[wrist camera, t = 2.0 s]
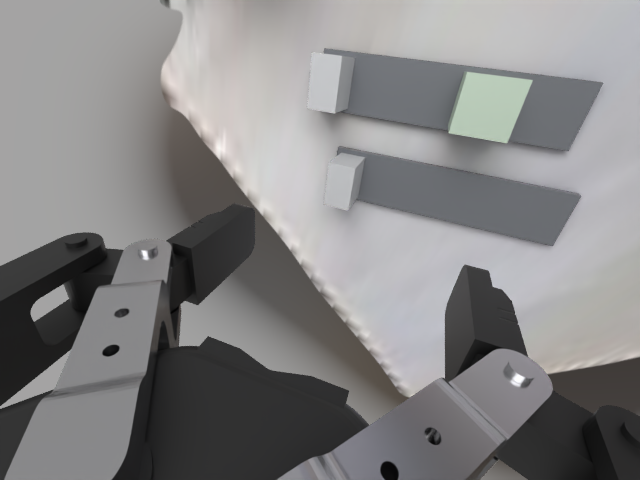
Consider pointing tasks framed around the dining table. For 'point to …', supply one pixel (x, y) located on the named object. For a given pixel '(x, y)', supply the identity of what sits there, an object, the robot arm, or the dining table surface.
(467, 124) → the block
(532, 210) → the strip
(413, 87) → the strip
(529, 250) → the dining table surface
